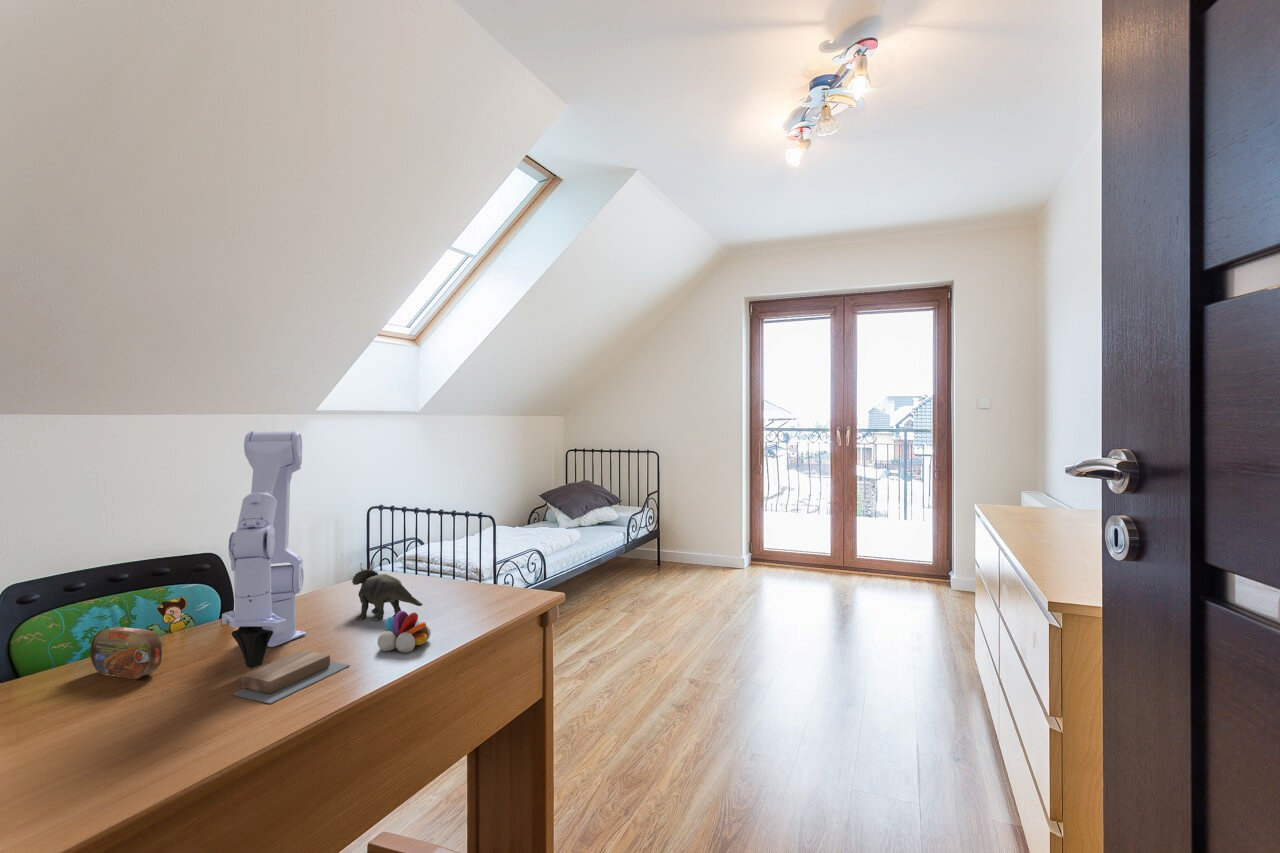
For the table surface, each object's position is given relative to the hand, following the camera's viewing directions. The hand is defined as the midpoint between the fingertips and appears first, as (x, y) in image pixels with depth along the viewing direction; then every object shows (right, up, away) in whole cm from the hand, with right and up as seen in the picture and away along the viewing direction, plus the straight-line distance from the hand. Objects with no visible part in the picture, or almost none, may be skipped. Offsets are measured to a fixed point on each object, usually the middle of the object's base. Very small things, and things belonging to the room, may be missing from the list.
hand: (254, 665), depth 112 cm
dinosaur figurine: (+10, -1, +30) cm, 32 cm away
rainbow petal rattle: (+23, -1, +12) cm, 26 cm away
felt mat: (+9, -1, -4) cm, 10 cm away
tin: (-23, -2, -1) cm, 23 cm away
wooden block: (+5, 0, -2) cm, 5 cm away
